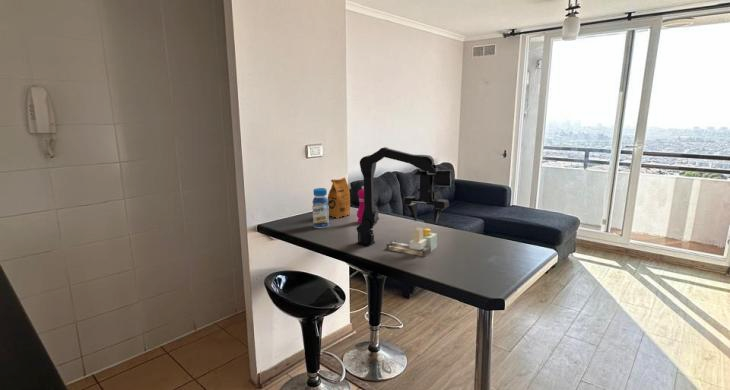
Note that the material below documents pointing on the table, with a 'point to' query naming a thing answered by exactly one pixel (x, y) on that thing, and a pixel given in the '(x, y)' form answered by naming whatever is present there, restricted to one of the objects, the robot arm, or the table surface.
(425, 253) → the rail
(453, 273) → the table surface
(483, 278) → the table surface
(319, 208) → the beverage bottle
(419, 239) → the carriage
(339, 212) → the coffee package
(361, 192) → the pepper mill
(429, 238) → the button housing
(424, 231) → the button
